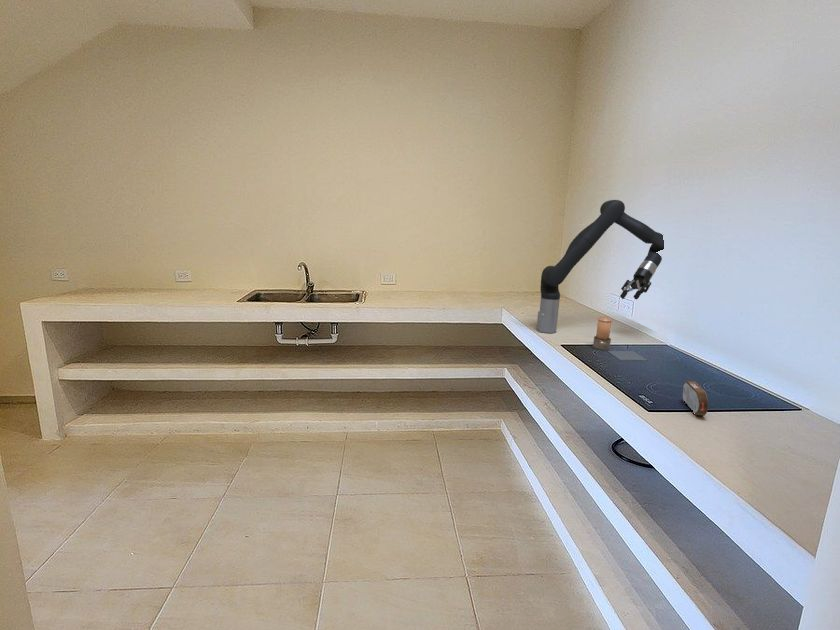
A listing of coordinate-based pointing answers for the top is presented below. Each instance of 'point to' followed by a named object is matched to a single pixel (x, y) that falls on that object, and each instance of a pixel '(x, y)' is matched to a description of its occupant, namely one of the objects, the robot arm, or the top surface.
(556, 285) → the robot arm
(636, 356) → the mat
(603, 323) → the tan cylinder
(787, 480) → the top surface
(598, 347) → the canister
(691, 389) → the tin
